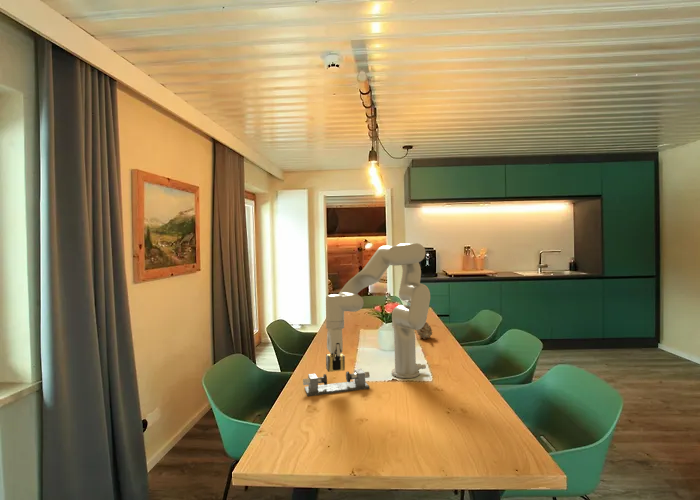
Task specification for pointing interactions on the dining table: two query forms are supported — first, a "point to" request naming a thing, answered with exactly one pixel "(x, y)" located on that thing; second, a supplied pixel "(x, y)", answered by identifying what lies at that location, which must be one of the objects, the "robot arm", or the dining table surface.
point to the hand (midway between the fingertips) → (335, 367)
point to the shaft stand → (336, 387)
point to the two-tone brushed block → (330, 362)
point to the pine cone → (425, 331)
